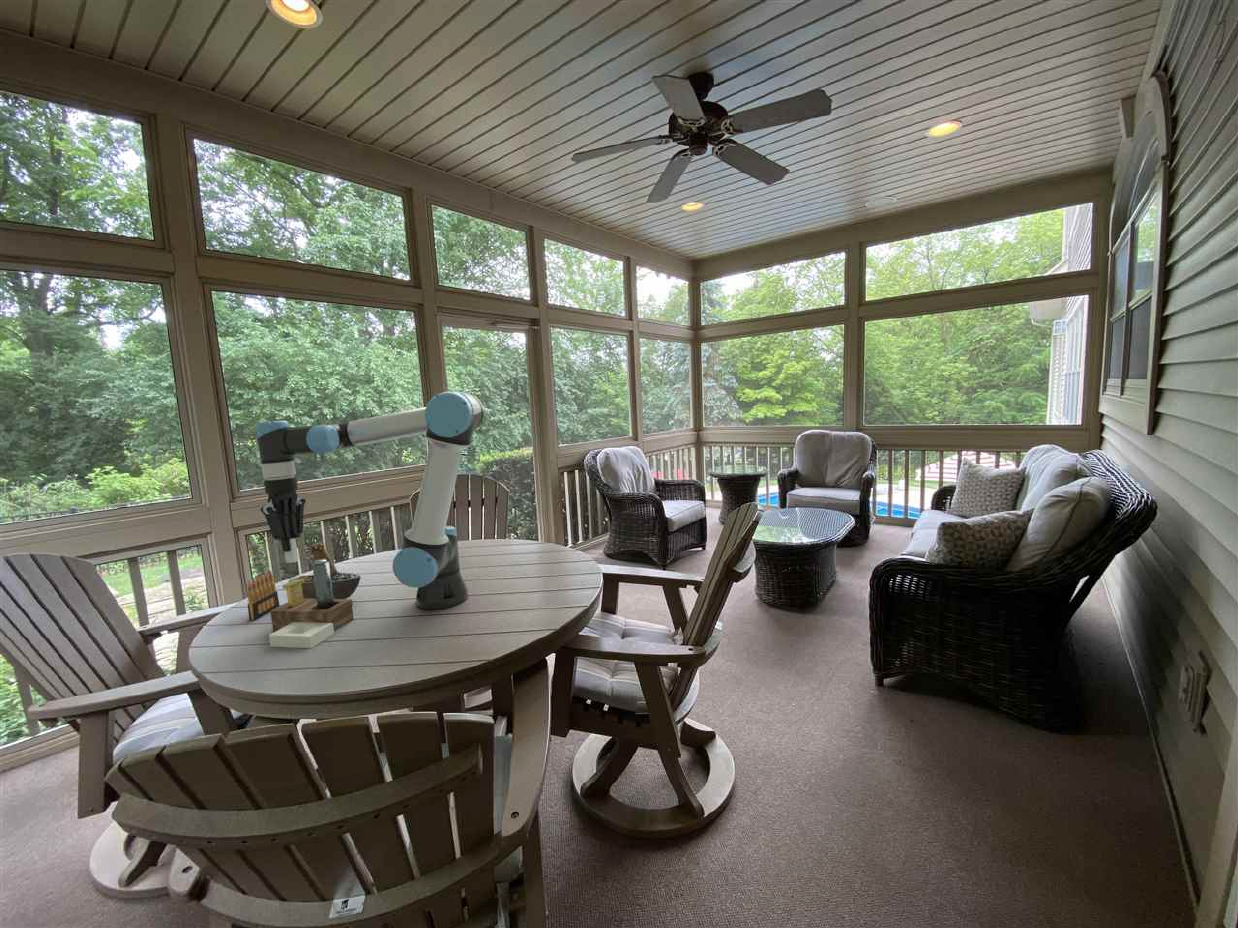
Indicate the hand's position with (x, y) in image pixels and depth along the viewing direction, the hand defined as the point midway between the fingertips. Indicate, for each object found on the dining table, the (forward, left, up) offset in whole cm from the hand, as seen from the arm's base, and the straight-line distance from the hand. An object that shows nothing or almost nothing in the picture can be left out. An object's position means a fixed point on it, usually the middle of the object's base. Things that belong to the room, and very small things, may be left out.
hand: (292, 561), depth 141 cm
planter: (+3, -15, -19) cm, 24 cm away
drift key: (0, 0, -16) cm, 16 cm away
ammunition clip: (+18, -7, -19) cm, 27 cm away
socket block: (-5, 0, -18) cm, 19 cm away
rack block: (-9, +9, -18) cm, 22 cm away
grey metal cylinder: (-9, 0, -16) cm, 19 cm away
